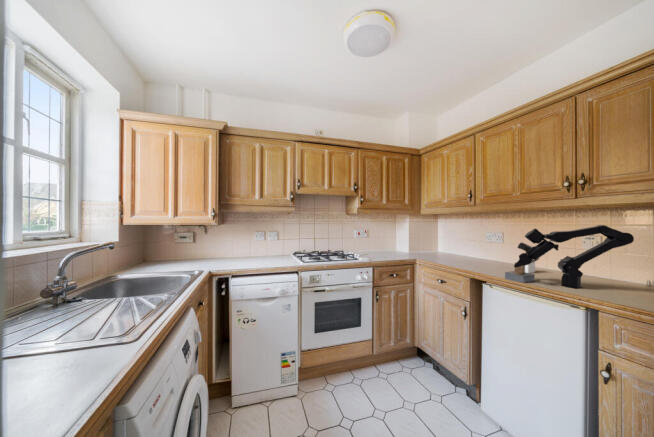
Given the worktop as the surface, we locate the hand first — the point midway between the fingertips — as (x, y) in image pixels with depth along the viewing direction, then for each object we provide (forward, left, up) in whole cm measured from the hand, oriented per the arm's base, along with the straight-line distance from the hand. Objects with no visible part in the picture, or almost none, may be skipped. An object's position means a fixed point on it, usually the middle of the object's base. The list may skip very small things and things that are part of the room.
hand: (516, 265), depth 147 cm
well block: (-1, 0, -8) cm, 8 cm away
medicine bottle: (+12, -29, -8) cm, 33 cm away
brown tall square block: (-1, 0, -8) cm, 8 cm away
